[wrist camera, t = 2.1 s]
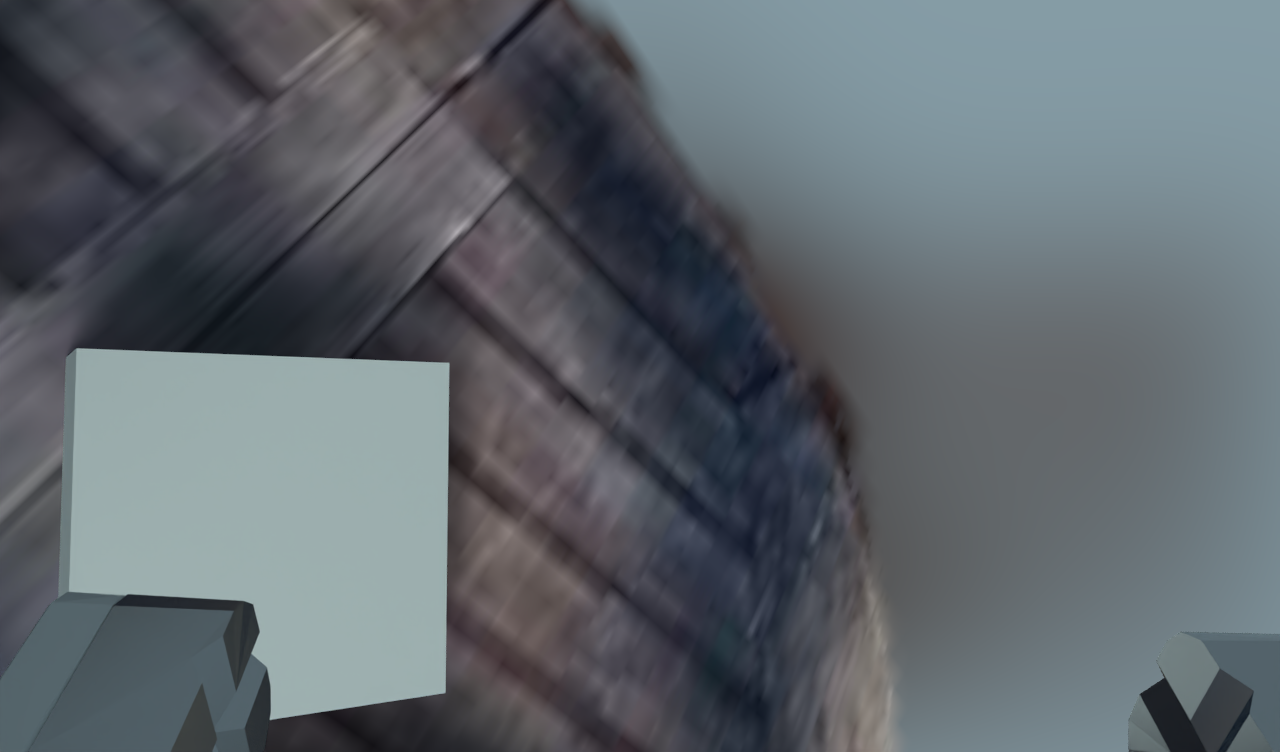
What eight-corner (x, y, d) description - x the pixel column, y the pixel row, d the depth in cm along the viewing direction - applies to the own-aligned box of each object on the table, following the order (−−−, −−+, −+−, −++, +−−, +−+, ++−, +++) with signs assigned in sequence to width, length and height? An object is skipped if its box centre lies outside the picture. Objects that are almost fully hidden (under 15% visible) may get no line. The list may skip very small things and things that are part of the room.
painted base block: (54, 710, 39) (64, 751, 34) (65, 357, 40) (76, 348, 35) (396, 664, 47) (445, 692, 42) (401, 369, 48) (449, 362, 43)
